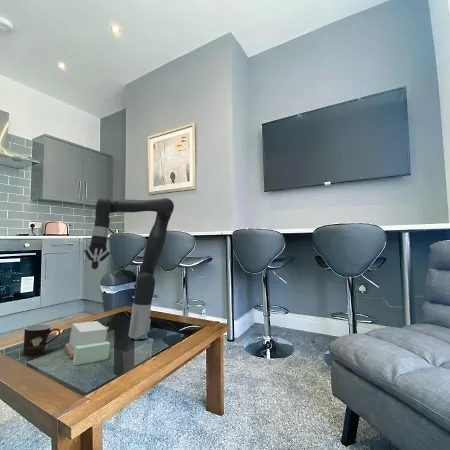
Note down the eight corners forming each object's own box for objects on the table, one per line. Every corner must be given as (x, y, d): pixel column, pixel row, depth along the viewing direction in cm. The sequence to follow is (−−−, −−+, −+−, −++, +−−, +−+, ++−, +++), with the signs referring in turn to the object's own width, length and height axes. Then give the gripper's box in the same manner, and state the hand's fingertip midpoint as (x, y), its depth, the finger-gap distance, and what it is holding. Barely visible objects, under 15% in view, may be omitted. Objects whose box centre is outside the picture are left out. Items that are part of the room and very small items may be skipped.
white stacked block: (94, 339, 111) (97, 321, 112) (104, 349, 101) (107, 329, 103) (68, 343, 104) (72, 323, 105) (76, 353, 95) (80, 332, 96)
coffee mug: (14, 357, 93) (20, 330, 94) (26, 349, 101) (31, 323, 103) (49, 357, 96) (54, 330, 97) (58, 349, 104) (62, 324, 106)
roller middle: (98, 340, 110) (100, 344, 107) (96, 345, 110) (98, 350, 108) (67, 344, 101) (68, 349, 99) (66, 350, 102) (66, 355, 100)
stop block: (105, 356, 102) (107, 341, 103) (107, 358, 100) (110, 343, 100) (72, 362, 94) (75, 346, 94) (74, 365, 91) (77, 348, 92)
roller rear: (98, 340, 110) (97, 347, 110) (95, 338, 112) (94, 346, 112) (67, 344, 102) (66, 352, 101) (65, 343, 104) (64, 350, 103)
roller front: (102, 343, 106) (103, 348, 104) (100, 348, 107) (101, 354, 105) (70, 348, 98) (71, 353, 96) (68, 354, 99) (69, 359, 97)
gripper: (88, 233, 122) (82, 269, 120) (115, 237, 131) (110, 270, 129) (84, 234, 127) (78, 267, 125) (110, 237, 136) (105, 268, 134)
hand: (94, 268), depth 127 cm, fingers closed
